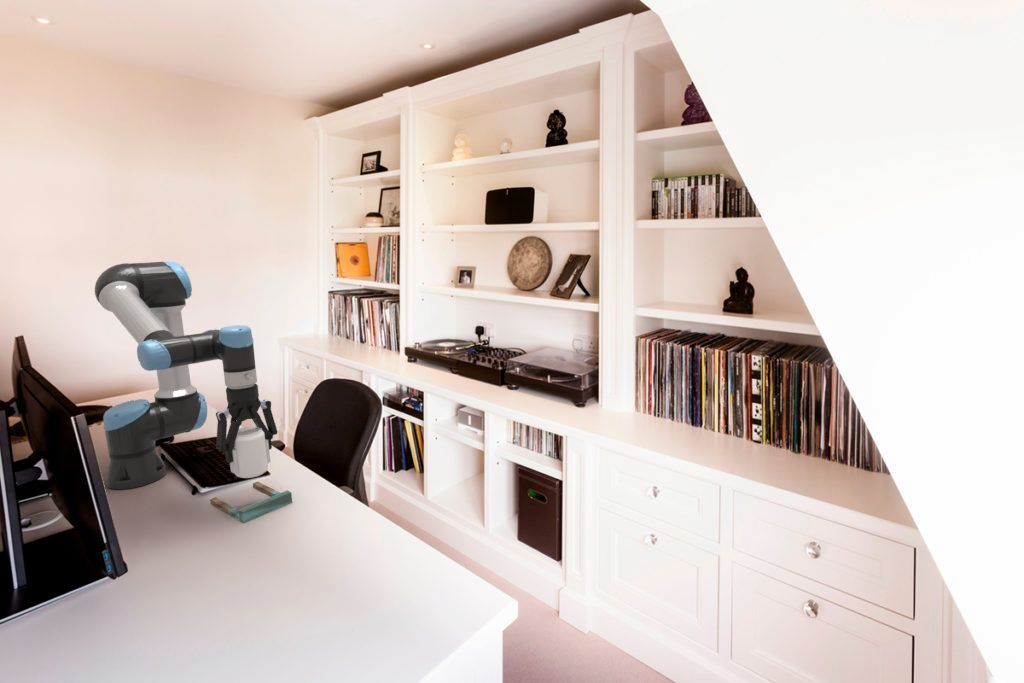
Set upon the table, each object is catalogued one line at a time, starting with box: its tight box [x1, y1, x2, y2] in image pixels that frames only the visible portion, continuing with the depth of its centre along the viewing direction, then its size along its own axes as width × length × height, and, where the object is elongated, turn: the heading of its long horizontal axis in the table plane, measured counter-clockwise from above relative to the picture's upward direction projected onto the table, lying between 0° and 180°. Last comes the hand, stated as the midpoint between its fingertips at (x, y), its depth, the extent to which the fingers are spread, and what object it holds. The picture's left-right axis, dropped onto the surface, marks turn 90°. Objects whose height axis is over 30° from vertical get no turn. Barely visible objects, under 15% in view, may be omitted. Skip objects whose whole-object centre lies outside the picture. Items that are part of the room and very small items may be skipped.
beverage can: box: [233, 425, 269, 479], centre depth 145 cm, size 8×8×12 cm
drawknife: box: [210, 481, 293, 524], centre depth 149 cm, size 18×14×3 cm
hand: (251, 466), depth 146 cm, fingers closed on beverage can, 8 cm apart
